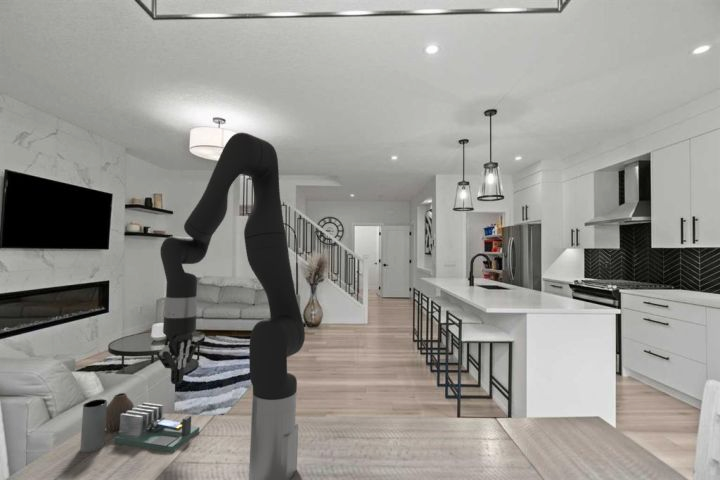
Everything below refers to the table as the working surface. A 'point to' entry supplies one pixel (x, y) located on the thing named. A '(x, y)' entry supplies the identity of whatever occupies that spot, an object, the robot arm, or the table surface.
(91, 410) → the planter
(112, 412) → the vase
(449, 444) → the table surface
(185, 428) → the block
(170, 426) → the blue-grey flat piece
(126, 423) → the heatsink
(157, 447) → the board
